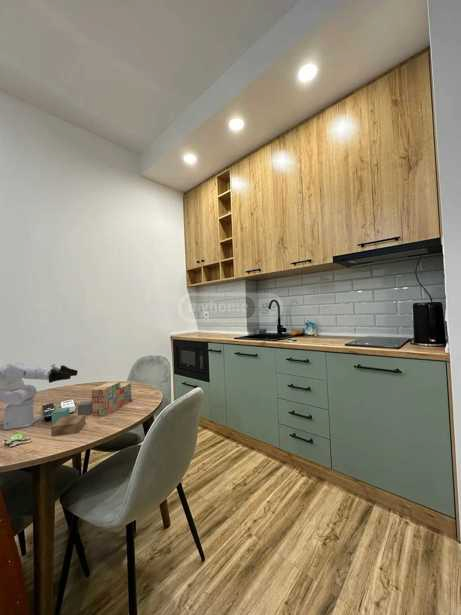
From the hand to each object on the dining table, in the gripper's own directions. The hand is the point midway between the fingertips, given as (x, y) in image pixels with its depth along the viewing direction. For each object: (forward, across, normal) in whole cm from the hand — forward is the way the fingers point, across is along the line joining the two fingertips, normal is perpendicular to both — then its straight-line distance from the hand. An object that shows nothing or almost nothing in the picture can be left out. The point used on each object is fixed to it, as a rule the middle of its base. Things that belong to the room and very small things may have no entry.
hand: (73, 374), depth 113 cm
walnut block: (+5, -12, +19) cm, 23 cm away
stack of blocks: (+17, +9, +17) cm, 26 cm away
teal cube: (-2, -1, +20) cm, 20 cm away
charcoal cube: (+6, +5, +18) cm, 20 cm away
